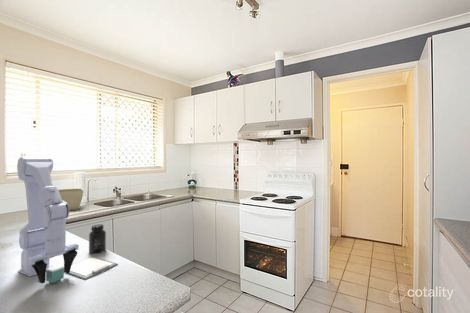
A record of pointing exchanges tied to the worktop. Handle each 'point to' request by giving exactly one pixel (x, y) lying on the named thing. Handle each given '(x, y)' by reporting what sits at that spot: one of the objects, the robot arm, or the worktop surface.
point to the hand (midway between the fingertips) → (55, 277)
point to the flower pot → (72, 197)
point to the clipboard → (90, 267)
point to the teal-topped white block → (54, 274)
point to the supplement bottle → (97, 239)
